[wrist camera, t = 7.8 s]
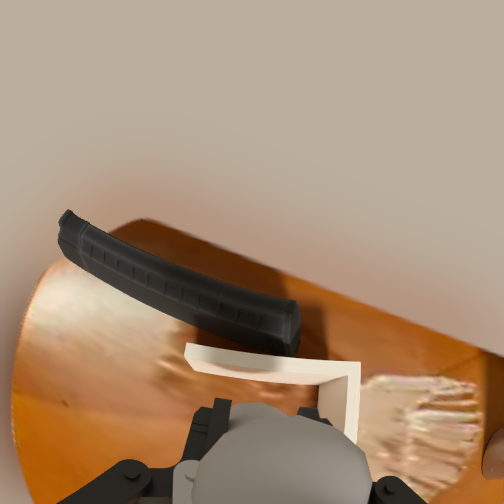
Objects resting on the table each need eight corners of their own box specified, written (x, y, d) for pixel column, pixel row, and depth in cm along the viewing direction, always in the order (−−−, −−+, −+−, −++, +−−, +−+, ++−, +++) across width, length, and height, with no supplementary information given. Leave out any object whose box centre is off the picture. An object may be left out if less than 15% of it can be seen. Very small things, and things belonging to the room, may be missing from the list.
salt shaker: (283, 488, 13) (377, 581, 2) (194, 473, 13) (135, 570, 2) (299, 409, 16) (425, 388, 5) (213, 394, 16) (182, 356, 5)
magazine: (349, 316, 23) (51, 156, 19) (341, 351, 21) (27, 181, 17) (269, 344, 37) (78, 242, 33) (261, 366, 35) (66, 261, 31)
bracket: (329, 375, 28) (360, 361, 22) (315, 504, 20) (342, 527, 13) (196, 360, 28) (186, 342, 21) (175, 493, 19) (159, 517, 13)
